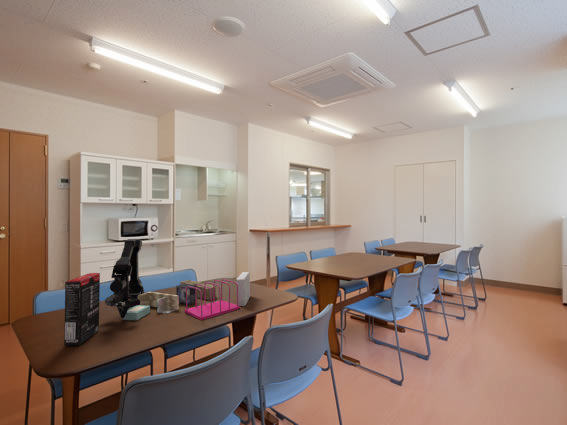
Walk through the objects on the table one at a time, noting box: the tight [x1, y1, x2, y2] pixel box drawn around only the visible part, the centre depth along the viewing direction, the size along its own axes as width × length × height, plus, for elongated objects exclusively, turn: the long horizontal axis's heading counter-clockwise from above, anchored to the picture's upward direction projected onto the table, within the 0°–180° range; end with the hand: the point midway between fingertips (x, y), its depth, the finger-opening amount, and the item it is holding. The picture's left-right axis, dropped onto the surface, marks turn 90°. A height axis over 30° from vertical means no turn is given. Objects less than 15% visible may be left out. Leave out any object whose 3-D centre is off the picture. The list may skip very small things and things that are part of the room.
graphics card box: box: [63, 272, 101, 347], centre depth 134 cm, size 17×7×27 cm, turn 7°
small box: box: [175, 284, 196, 306], centre depth 185 cm, size 11×6×10 cm, turn 68°
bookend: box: [156, 296, 177, 315], centre depth 169 cm, size 7×7×7 cm
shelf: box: [138, 291, 180, 311], centre depth 172 cm, size 22×8×8 cm, turn 68°
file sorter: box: [184, 278, 241, 321], centre depth 170 cm, size 17×25×16 cm
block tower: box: [179, 279, 217, 301], centre depth 202 cm, size 8×8×29 cm
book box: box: [122, 305, 151, 321], centre depth 162 cm, size 8×12×4 cm, turn 173°
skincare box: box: [235, 271, 251, 307], centre depth 188 cm, size 21×6×16 cm, turn 178°
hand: (122, 318), depth 155 cm, fingers closed
